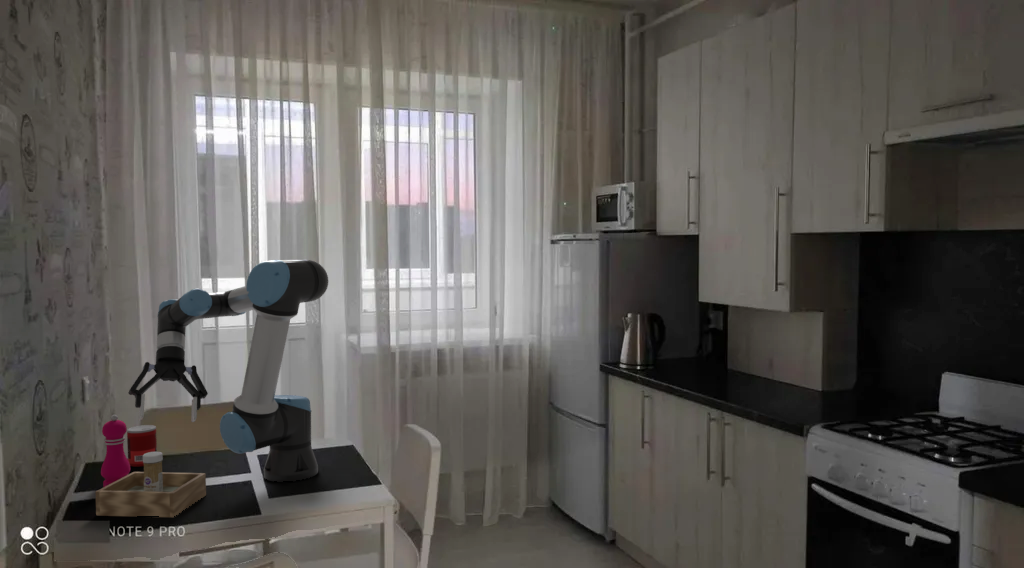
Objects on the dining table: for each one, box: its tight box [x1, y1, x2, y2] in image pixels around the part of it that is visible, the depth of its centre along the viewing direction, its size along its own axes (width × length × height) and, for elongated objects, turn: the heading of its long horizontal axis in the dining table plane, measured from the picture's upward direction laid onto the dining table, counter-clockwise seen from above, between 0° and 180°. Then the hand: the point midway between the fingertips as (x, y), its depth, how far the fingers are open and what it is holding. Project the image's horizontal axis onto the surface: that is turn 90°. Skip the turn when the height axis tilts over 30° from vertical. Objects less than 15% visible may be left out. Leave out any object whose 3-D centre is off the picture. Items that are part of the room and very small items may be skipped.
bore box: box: [95, 471, 207, 518], centre depth 187 cm, size 20×16×6 cm
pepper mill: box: [100, 414, 131, 488], centre depth 202 cm, size 7×7×20 cm
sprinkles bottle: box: [143, 451, 164, 492], centre depth 187 cm, size 5×5×13 cm
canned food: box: [126, 424, 158, 468], centre depth 224 cm, size 8×8×11 cm
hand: (167, 419), depth 201 cm, fingers open, 13 cm apart
